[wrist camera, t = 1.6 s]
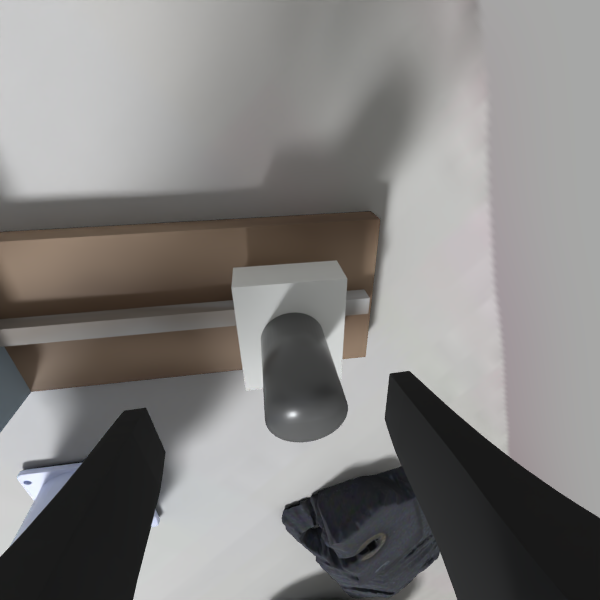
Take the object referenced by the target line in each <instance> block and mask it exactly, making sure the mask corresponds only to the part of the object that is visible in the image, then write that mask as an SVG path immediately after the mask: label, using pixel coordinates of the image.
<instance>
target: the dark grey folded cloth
mask: <svg viewBox="0 0 600 600" xmlns="http://www.w3.org/2000/svg"><path fill="white" fill-rule="evenodd" d="M282 522H283V524H284V525H285V526H286V530H287V531H288V532H289V533H290V534H291V535H292V536H293V537H294V538H295V539H296V540H297V541H298V542H300V543H301V544H302V545H303V546H304V547H305V548H306V549H308V550H309V551H310V552H311V553H313V554H314V555H315V556H316V561H317V563H319V564H320V566H321V567H322V568H323V569H324V570H325V571H326V572H327V573H328V574H330V575H331V578H332V579H335V580H336V581H337V582H338V583H339V584H340V586H341V588H342V589H343V590H344V592H346V593H347V594H348V595H349V596H351V597H353V598H363V597H376V596H378V597H385V598H387V597H391V596H393V595H395V594H396V593H398V592H399V591H400V590H401V589H402V588H404V587H405V586H406V585H407V584H408V583H410V582H411V580H413V578H415V577H416V575H417V574H418V573H420V572H422V571H424V570H425V569H426V568H427V567H429V566H430V565H431V564H432V563H433V561H434V560H436V559H437V558H438V556H439V553H440V550H439V547H438V545H437V542H436V540H435V538H434V535H433V533H432V530H431V528H430V526H429V524H428V522H427V519H426V517H425V515H424V513H423V511H422V509H421V506H420V504H419V502H418V500H417V498H416V496H415V493H414V491H413V489H412V487H411V485H410V483H409V480H408V478H407V476H406V474H405V472H404V469H403V467H402V466H401V467H399V468H396V469H392V470H389V471H386V472H383V473H380V474H377V475H372V476H362V477H358V478H355V479H352V480H348V481H346V482H343V483H340V484H337V485H335V486H331V487H328V488H325V489H323V490H321V491H319V492H318V494H316V495H312V496H311V498H307V499H305V500H303V501H300V505H298V506H294V507H292V508H288V509H286V510H284V511H283V515H282ZM316 525H318V526H319V527H318V528H311V527H314V526H316Z"/></svg>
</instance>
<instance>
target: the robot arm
mask: <svg viewBox="0 0 600 600" xmlns="http://www.w3.org/2000/svg"><path fill="white" fill-rule="evenodd" d="M385 421H386V425H387V428H388V431H389V434H390V437H391V440H392V443H393V446H394V449H395V452H396V454H397V456H398V458H399V461H400V463H401V465H402V467H403V469H404V472H405V474H406V476H407V478H408V480H409V483H410V485H411V487H412V489H413V491H414V493H415V496H416V498H417V500H418V502H419V504H420V506H421V509H422V511H423V513H424V515H425V517H426V519H427V522H428V524H429V526H430V528H431V530H432V533H433V535H434V538H435V540H436V542H437V545H438V547H439V550H440V553H441V555H442V558H443V561H444V563H445V566H446V569H447V572H448V574H449V577H450V580H451V583H452V585H453V588H454V591H455V594H456V597H457V600H600V518H599V517H597V516H596V515H594V514H592V513H591V512H589V511H588V510H586V509H584V508H583V507H581V506H579V505H578V504H576V503H575V502H573V501H572V500H570V499H569V498H567V497H565V496H564V495H562V494H561V493H559V492H558V491H556V490H555V489H553V488H552V487H550V486H549V485H548V484H546V483H545V482H543V481H542V480H540V479H539V478H538V477H536V476H535V475H533V474H532V473H530V472H529V471H527V470H526V469H525V468H523V467H522V466H521V465H519V464H518V463H517V462H515V461H514V460H513V459H511V458H510V457H509V456H507V455H506V454H505V453H504V452H502V451H501V450H500V449H498V448H497V447H496V446H495V445H493V444H492V443H491V442H490V441H488V440H487V439H486V438H485V437H483V436H482V435H481V434H480V433H479V432H477V431H476V430H475V429H474V428H473V427H471V426H470V425H469V424H468V423H467V422H466V421H464V420H463V419H462V418H461V417H460V416H459V415H457V414H456V413H455V412H454V411H453V410H452V409H450V408H449V407H448V406H447V405H446V404H445V403H444V402H443V401H442V400H440V399H439V398H438V397H437V396H436V395H435V394H434V393H433V392H432V391H431V390H430V389H428V388H427V387H426V386H425V385H424V384H423V383H422V382H421V381H420V380H419V379H418V378H417V377H415V376H414V375H413V374H412V373H411V372H410V371H405V372H398V373H391V374H390V376H389V385H388V394H387V403H386V412H385ZM164 459H165V450H164V448H163V446H162V443H161V441H160V439H159V436H158V434H157V432H156V430H155V427H154V425H153V423H152V420H151V418H150V416H149V414H148V411H147V409H146V408H141V409H134V410H126V411H124V412H123V413H122V414H121V415H120V416H119V418H118V419H117V420H116V421H115V423H114V424H113V425H112V426H111V428H110V429H109V430H108V431H107V433H106V434H105V435H104V436H103V438H102V439H101V440H100V441H99V443H98V444H97V445H96V447H95V448H94V449H93V450H92V452H91V453H90V454H89V455H88V457H87V458H86V459H85V460H84V462H82V463H75V464H67V465H59V466H51V467H43V468H36V469H28V470H22V471H21V472H20V473H19V474H18V476H17V479H18V481H19V482H20V483H21V484H22V486H23V487H24V488H25V490H26V491H27V492H28V494H29V495H30V496H31V497H32V499H33V500H34V503H33V504H32V506H31V508H30V510H29V512H28V514H27V516H26V517H25V519H24V521H23V523H22V525H21V527H20V529H19V530H18V532H17V534H16V536H15V538H14V540H13V542H12V543H11V545H10V547H9V548H8V549H7V550H6V551H5V552H4V554H3V555H2V556H1V557H0V600H133V597H134V593H135V588H136V584H137V579H138V576H139V572H140V568H141V564H142V560H143V556H144V552H145V548H146V544H147V540H148V537H149V533H150V529H151V527H155V526H157V525H158V524H159V522H160V518H159V516H158V514H157V512H156V505H157V501H158V497H159V493H160V488H161V481H162V475H163V467H164Z"/></svg>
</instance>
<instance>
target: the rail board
mask: <svg viewBox="0 0 600 600" xmlns="http://www.w3.org/2000/svg"><path fill="white" fill-rule="evenodd" d="M379 227H380V219H379V218H378V217H377V216H376V215H375V214H374V213H372V212H371V211H367V212H349V213H331V214H313V215H295V216H278V217H260V218H242V219H224V220H206V221H188V222H170V223H152V224H134V225H117V226H99V227H81V228H63V229H45V230H27V231H9V232H0V347H5V349H6V351H7V352H8V354H9V356H10V357H11V359H12V361H13V362H14V364H15V366H16V367H17V369H18V371H19V372H20V374H21V376H22V377H23V379H24V381H25V382H26V384H27V386H28V387H29V389H30V391H31V392H34V391H43V390H53V389H62V388H72V387H81V386H91V385H100V384H110V383H120V382H129V381H139V380H148V379H158V378H167V377H177V376H186V375H196V374H205V373H215V372H224V371H234V370H243V368H242V361H241V354H240V346H239V339H238V332H237V325H236V317H235V310H234V303H233V296H232V289H231V286H232V275H233V268H237V267H251V266H265V265H279V264H293V263H307V262H321V261H335V260H337V262H338V263H339V265H340V267H341V268H342V270H343V272H344V274H345V275H346V277H347V293H346V309H345V325H344V340H343V356H342V359H348V358H358V357H365V356H366V347H367V338H368V329H369V320H370V310H371V301H372V292H373V283H374V273H375V264H376V255H377V246H378V237H379Z"/></svg>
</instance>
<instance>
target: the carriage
mask: <svg viewBox="0 0 600 600" xmlns="http://www.w3.org/2000/svg"><path fill="white" fill-rule="evenodd" d="M231 289H232V296H233V303H234V310H235V317H236V325H237V332H238V339H239V346H240V354H241V361H242V368H243V375H244V382H245V390H246V391H248V390H257V389H263V392H264V410H265V422H266V425H267V428H268V429H269V431H270V432H271V433H272V434H274V435H275V436H277V437H278V438H280V439H283V440H286V441H290V442H309V441H314V440H318V439H321V438H323V437H325V436H327V435H329V434H331V433H332V432H334V431H335V430H336V429H337V428H339V427H340V425H341V424H342V423H343V422H344V420H345V418H346V416H347V412H348V405H347V401H346V398H345V395H344V392H343V389H342V386H341V383H340V380H341V372H342V356H343V340H344V325H345V309H346V293H347V277H346V275H345V274H344V272H343V270H342V268H341V267H340V265H339V263H338V262H337V260H335V261H321V262H307V263H293V264H279V265H265V266H251V267H237V268H233V275H232V286H231Z"/></svg>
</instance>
